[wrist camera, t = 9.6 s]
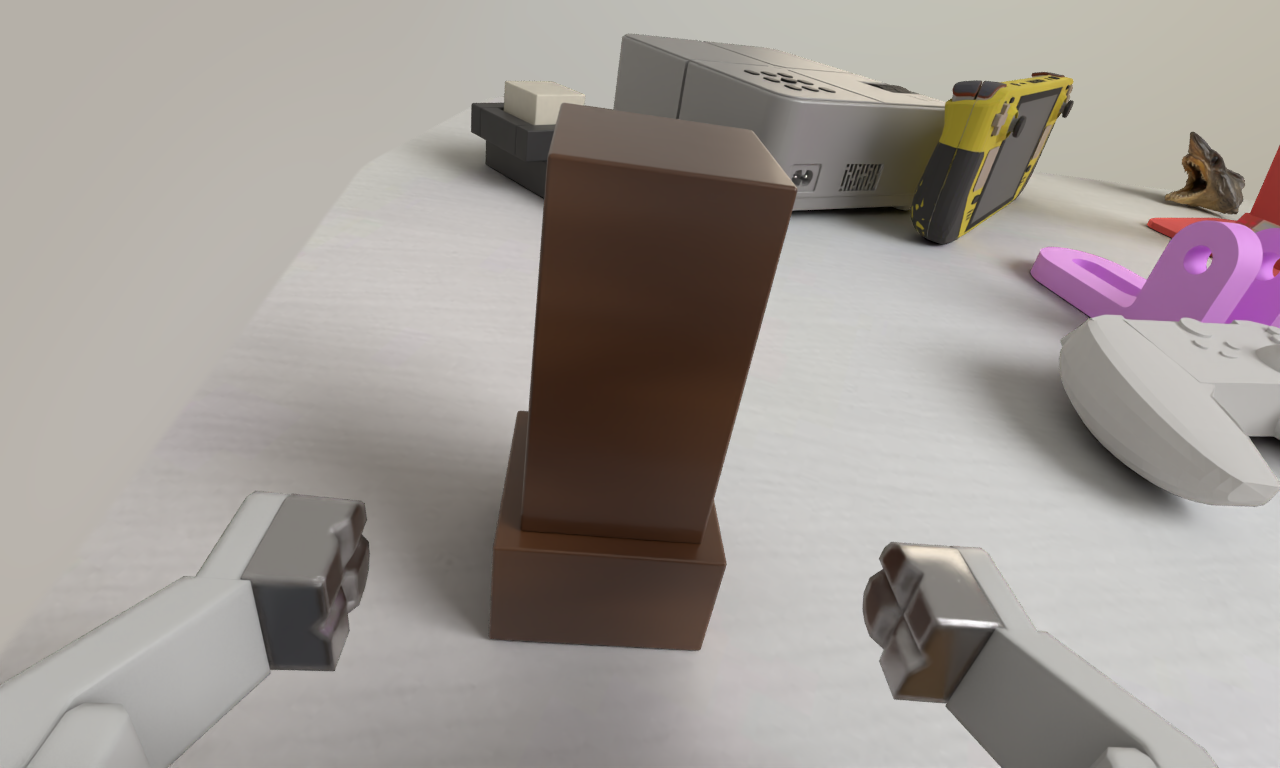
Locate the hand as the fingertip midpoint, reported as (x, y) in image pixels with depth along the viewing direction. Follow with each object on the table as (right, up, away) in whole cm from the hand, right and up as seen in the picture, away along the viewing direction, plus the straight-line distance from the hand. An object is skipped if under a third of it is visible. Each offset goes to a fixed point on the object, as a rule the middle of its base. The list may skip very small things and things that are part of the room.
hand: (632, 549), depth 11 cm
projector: (+9, +20, +45) cm, 50 cm away
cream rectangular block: (-6, +19, +33) cm, 38 cm away
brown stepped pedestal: (-1, -2, +7) cm, 8 cm away
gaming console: (+26, +16, +43) cm, 53 cm away
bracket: (+28, +7, +30) cm, 41 cm away
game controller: (+24, 0, +18) cm, 30 cm away
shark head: (+55, +20, +58) cm, 82 cm away
